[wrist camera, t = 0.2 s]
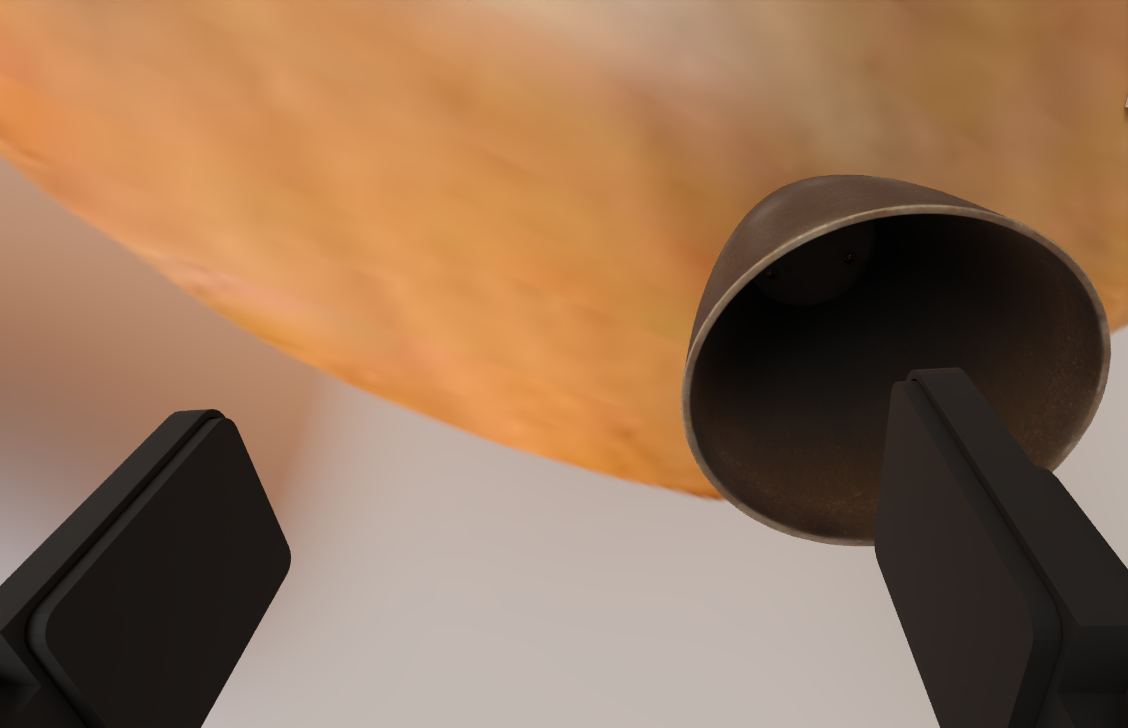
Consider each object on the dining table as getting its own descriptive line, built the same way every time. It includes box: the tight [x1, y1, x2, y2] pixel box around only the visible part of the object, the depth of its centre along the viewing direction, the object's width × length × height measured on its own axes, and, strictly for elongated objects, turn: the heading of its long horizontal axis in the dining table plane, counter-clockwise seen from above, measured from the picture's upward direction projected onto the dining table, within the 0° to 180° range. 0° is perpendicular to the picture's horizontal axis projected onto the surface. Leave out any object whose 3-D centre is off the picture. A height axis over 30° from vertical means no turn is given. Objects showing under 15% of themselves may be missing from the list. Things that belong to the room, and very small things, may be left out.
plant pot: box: [682, 175, 1111, 546], centre depth 33 cm, size 15×15×16 cm
